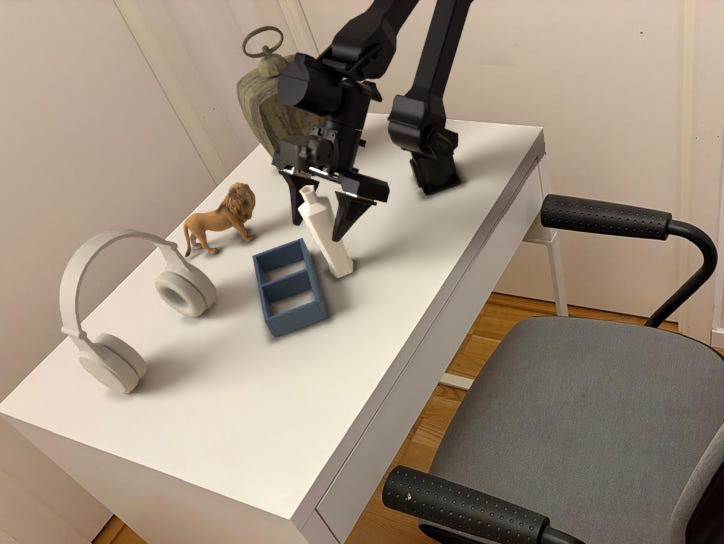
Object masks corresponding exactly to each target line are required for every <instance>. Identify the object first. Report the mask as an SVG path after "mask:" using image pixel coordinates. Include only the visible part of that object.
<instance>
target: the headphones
mask: <svg viewBox="0 0 724 544" xmlns="http://www.w3.org/2000/svg"><path fill="white" fill-rule="evenodd" d="M129 238H134V239H141V240H144V241H147V242H149V243H152V244H153V245H154V246H155V247H158V248H159V250H160V253H161V254H162V256H163V258H164V260H165V261H166V266H165V268H164V269H163V271H162V273H160V274H159V275H158V276H157V277H156V279H155V280H154V288H155V290H156V292H157V294H158V295H159V297H160V298H161V299H162V300H163V302H165V303H166V305H168V306H169V307H170V308H172V309H173V310H174V311H176V312H177V313H179V314H181V315H182V316H186V317H188V318H198V317H200V315H202V314H203V313H204V312H205V310H206V309H208V308H210V307H211V306H212V305H213V304H215V302H216V300H217V298H218V294H217V293H218V292H217V288H216V286H215V284H214V283H213V281H212V280H211V279H210V277H208V275H207V274H205V273H204V272H203V270H201V269H200V268H198V267H197V266H195V265H194V264H192V263H190V262H188V261H187V260H186V257H185V256H183V255H182V253H181V252H180V251H179V249H178V248H179V245H178V243H177V242H175V241H171V240H167V239H165V238H163V237H160V236H158V235H156V234H152V233H148V232H145V231H140V230H137V229H133V228H124V227H123V228H121V227H120V228H111V229H107V230H105V231H102V232H99V233H97V234H95V235H93V236H92V237H90V238H89V239H87V241H85V242H84V243H82V245H80V247H78V249H77V250H75V252H74V254H73V255H72V256H71V258H70V259H69V261H68V263H67V264H66V266H65V269H64V271H63V274H62V277H61V281H60V286H59V295H58V296H59V301H58V302H59V305H58V306H59V310H60V311H59V312H60V317H61V321H62V327H61V328H60V330H61V333H62V334H64V335H67V336H68V337H69V338H70V339H71V340H72V342H73V343H74V345H75V346H76V347H77V349H78V351H79V352H78V361H79V363H80V365H81V367H82V368H83V369H84V370H85V371H86V372H87V373H88V374H89V375H90V376H91V377H93V378H94V379H95V380H96V381H98V382H99V383H101V384H102V385H104V386H105V387H107V388H108V389H110V390H112V391H114V392H116V393H118V394H128V393H131V392H132V391H133V390H134V389H135V388H136V387H137V385H138V384H139V381H140V379H142V378H143V377H144V375H146V373H147V372H148V364H147V362H146V361H145V359H144V357H142V355H141V354H140V353H139V352H138V351H137V349H134V348H133V347H132V346H131V345H130V344H129V343H127V342H125V341H124V340H123V339H121V338H119V337H117V336H115V335H114V334H110V333H105V332H104V333H100V334H99V335H97V336H96V337H95V338H94V339H93V340H92V341H91V340H90V338H89V337H88V333H87V331H86V330H83V328H82V324H81V323H82V322H81V319H80V318H81V317H80V313H79V312H80V311H79V298H80V297H79V296H80V290H81V286H82V282H83V279H84V276H85V275H86V273H87V270H88V268H89V266H91V264H92V262H93V261H94V260H95V259H96V258H97V256H98V255H99V254H100V253H101V252H102V251H103V250H105V249H106V248H107V247H109V246H111V245H112V244H114V243H116V242H117V241H120V240H123V239H129Z"/></svg>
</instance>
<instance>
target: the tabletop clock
mask: <svg viewBox="0 0 724 544" xmlns="http://www.w3.org/2000/svg"><path fill="white" fill-rule="evenodd" d="M267 31H274V32H275V33H278V34H279V36H280V39H279V41H278V42H277V43H276V44H275V45H274V46H272V47H271V48H270V47H269V46H268V45H265V44H264V45H263V46H262V47H261V50H262V52H258V53H249V52H248V51H246V46H247V44H248V42H249V40H251V38H253V37H255V36H256V35H258V34H260V33H263V32H267ZM283 42H284V33H283V32H282V30H281V29H280V28H278V27H276V26H273V25H266V26H261V27H258V28H256V29H254V30H252V31H250V32H249V33H248V34H247V35H246V36H245V37H244V39H243V41H242V43H241V51H242V53H243V54H244V55H245V56H247V57H248V58H251V59H260V60H259V62H258V63H257V64H258V65H257V67H256V68H254V69H253V70H251V71H248V72H247V73H245V74H243V76H241V77H240V79H239V80H238V81H237V82H235V85H236V86H235V91H236V97H237V100H238V103H239V106H240V110H241V111H242V114H243V117H244V120H245V121H246V123H247V125H248V127H249V128H250V130H251V132H252V133H253V135H254V136H255V138H256V139H257V141H258V142H259V143H260V145H261V146H262V147H263V148H264V149H265V151H266V152H267V153H268V155H269V156H270V157H271V158H272V159H273V155H274V152H275V151H276V150H278V149H279V148H280V139H282V138H288V137H294V136H305V135H310V133H311V129H312V127H313V126H314V124H316V125H320V126H321V122H322V119H324V118H323V117H318V116H315V115H313V114H310V113H307V112H304V111H301V110H298V109H295V108H292V107H289V106H286V105H285V104H283V103H282V102H281V100H280V99H279V96H278V92H277V82H278V77H279V75H280V74H281V73H282V71H283V69H284V68H285V67H286V66H287V65H288V64H289V63H291V62H292V61H294V58H295V54H296V53H294V54H288V55H285V56H282V55H281V54H279V53H275V52H276V51H277V50H279V49H280V47H282V44H283ZM275 168H276V169H277V171H278V170H281V171H282V170H283V169H282V168H279V167H276V166H275Z"/></svg>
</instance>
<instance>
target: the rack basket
mask: <svg viewBox="0 0 724 544" xmlns="http://www.w3.org/2000/svg"><path fill="white" fill-rule="evenodd" d="M251 257H252V262H253V268H254V273H255V278H256V284H257V289H258V295H259V299H260V304H261V310H262V315H263V322H264V323H265V325H266V327H267V328H268V330H269V332H270V334H271V335H272V338H273V339H276V338H279V337H281V336H284V335H286V334H290V333H292V332H295V331H297V330H300V329H303V328H306V327H308V326H311V325H313V324H317V323H319V322H321V321H324V320H328V319H329V316H328V313H327V309H326V306H325V302H324V299H323V295H322V291H321V288H320V284H319V280H318V277H317V273H316V270H315V266H314V262H313V258H312V255H311V252H310V251H309V248H308V246H307V244H306V242H305V240H304V237H300V238H297V239H295V240H292V241H290V242H287V243H284V244H280V245H278V246H276V247H275V246H274V247H273V248H270V249H266V250H264V251H262V252H259V253H256V254H253V255H252V256H251ZM303 260H304V263H305V267H306V268H304V269H303V268H302V269H301V270H298V271H295V272H293V273H289V274H287V275H284V276H281V277H279V278H276V279H273V280H270V281H268V280H267V276H266V273H269V272H272V271H275V270H277V269H280V268H283V267H285V266H289V265H291V264H294V263H297V262H299V261H303ZM267 281H268V282H267ZM310 290H312V293H313V298H314V300H313V301H309V302H307V303H304V304H302V305H299V306H296V307H294V308H291V309H287V310H285V311H282V312H280V313H278V314H274V310H273V305H272V304H274V303H277V302H279V301H282V300H285V299H287V298H290V297H292V296H296V295H298V294H302V293H304V292H307V291H310Z"/></svg>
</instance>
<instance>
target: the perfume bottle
mask: <svg viewBox="0 0 724 544" xmlns="http://www.w3.org/2000/svg"><path fill="white" fill-rule="evenodd" d="M299 192H300V193H301V194H302V196H303V198H304V200H305V202H304V203H303V204H302V205H301V206H300V207H299V208H298V210H299V212H300V214H301V216H302V217H303V222H304V223H305V225H306V226H307V228H308V230H309V232H310V233H311V235H312V237H313V239H314V240H315V242H316V244H317V246H318V248H319V249H320V252H321V253H322V255H323V256H324V259H325V261H326V262H327V264H328V269H329V273H330V274H332V275H333V276H334V277H335V278H336V279H340V278H342V277H345V276H347V275H350V274H353V271H354V261H353V260H352V259H351V258H350V257H349V255H348V251H347V249H346V247H345V243H344V240H343V238H342V239H341V240H340V241H339V242H333V241H332V233H333V227H334V223H335V218H336V215H335V214H334V210H333V208H332V204H331V202H330V198H329V196H326V195H325V196H324V195H323V196H318V194H317V191H316V192H315V190H314V185H306V186H304V187H303V188H302V189H301V190H300V191H299Z"/></svg>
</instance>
